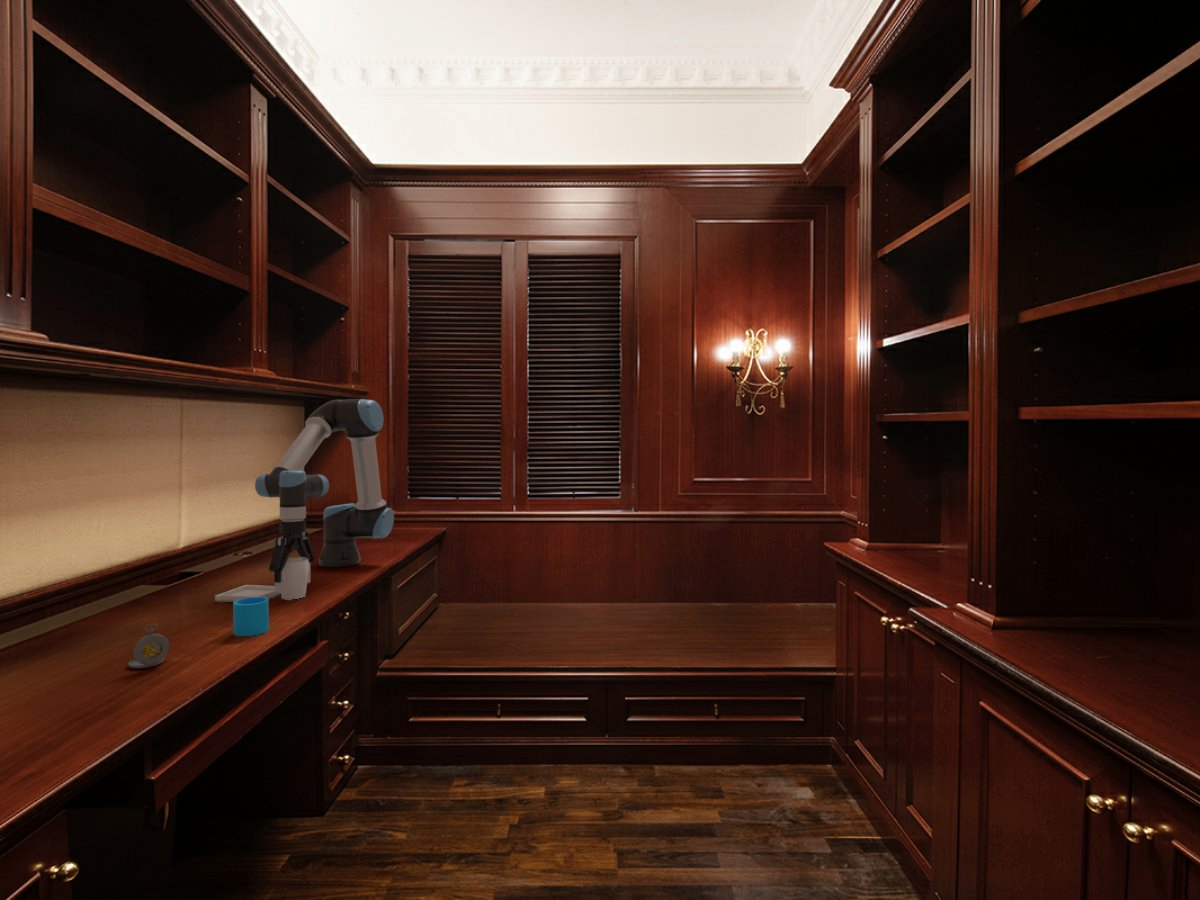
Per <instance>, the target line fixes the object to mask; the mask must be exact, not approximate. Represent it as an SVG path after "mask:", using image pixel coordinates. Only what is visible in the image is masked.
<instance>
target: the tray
mask: <svg viewBox="0 0 1200 900" xmlns="http://www.w3.org/2000/svg"><path fill="white" fill-rule="evenodd" d="M280 594H281V593H275V585H263V584H262V585H260V584H257V585H256V584H245V585H242V586H239V587H236V588H233V589H230V590H228V591H224V592H222V593H218V594H215V595H214V599H215V600H214V602H215V601H225V602H235V601H237V600H240V599H244V598H251V597H265V598H268V600H270V598H271V599H273V598H276V597H278V595H279V596H281V595H280ZM275 596H276V597H275ZM225 602H224V603H225Z"/></svg>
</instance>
